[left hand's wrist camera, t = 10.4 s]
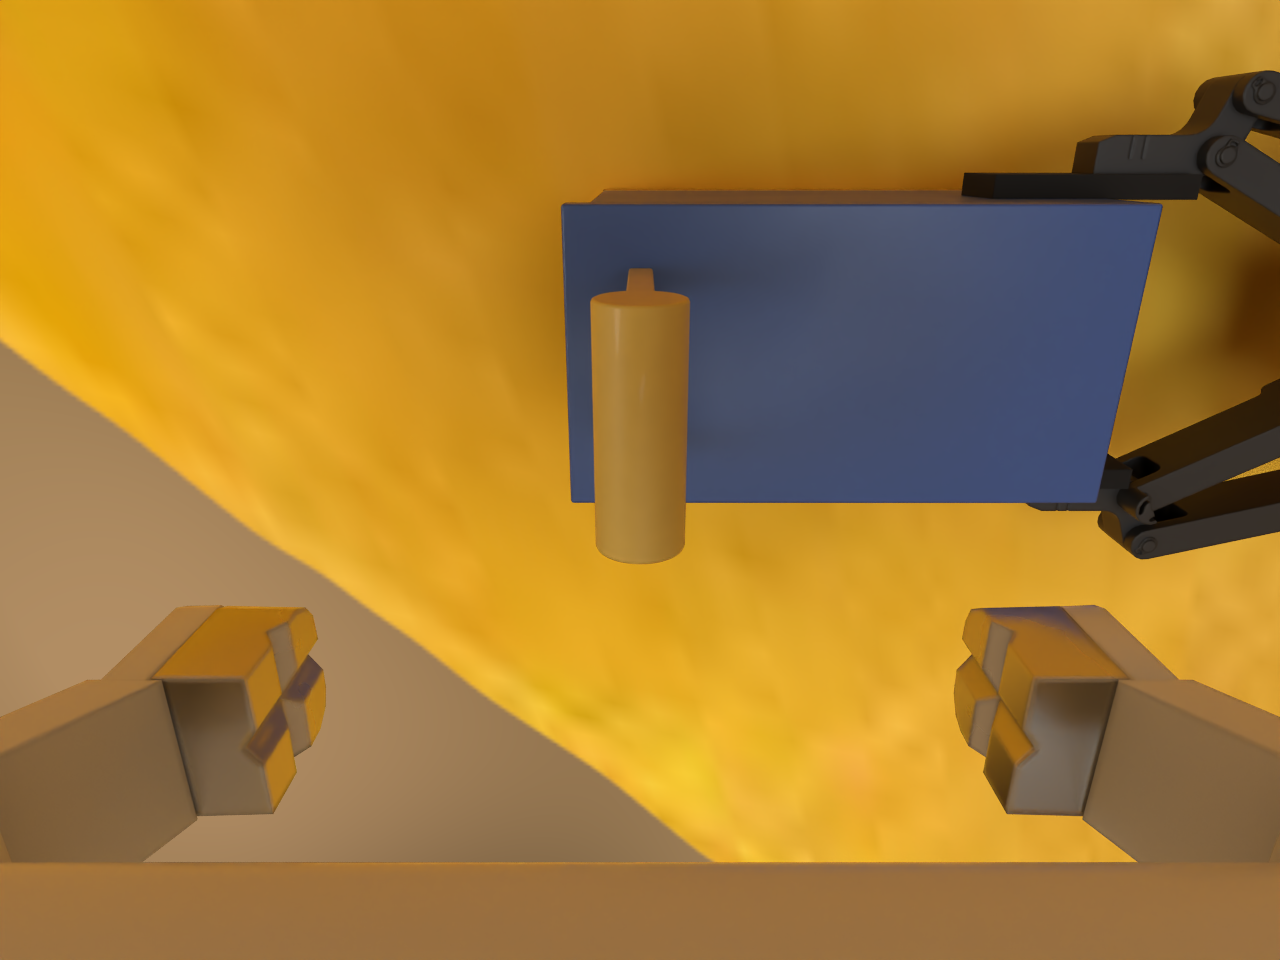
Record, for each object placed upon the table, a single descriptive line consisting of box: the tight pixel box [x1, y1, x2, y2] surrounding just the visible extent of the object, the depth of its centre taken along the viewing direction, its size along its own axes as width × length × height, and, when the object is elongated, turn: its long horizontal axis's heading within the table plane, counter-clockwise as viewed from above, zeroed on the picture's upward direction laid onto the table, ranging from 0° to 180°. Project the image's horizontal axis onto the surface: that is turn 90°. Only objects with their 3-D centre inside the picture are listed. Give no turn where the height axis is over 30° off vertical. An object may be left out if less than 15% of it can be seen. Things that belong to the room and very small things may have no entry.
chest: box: [591, 189, 1137, 203], centre depth 30 cm, size 16×9×10 cm, turn 90°
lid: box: [561, 202, 1163, 564], centre depth 22 cm, size 17×9×8 cm, turn 90°
